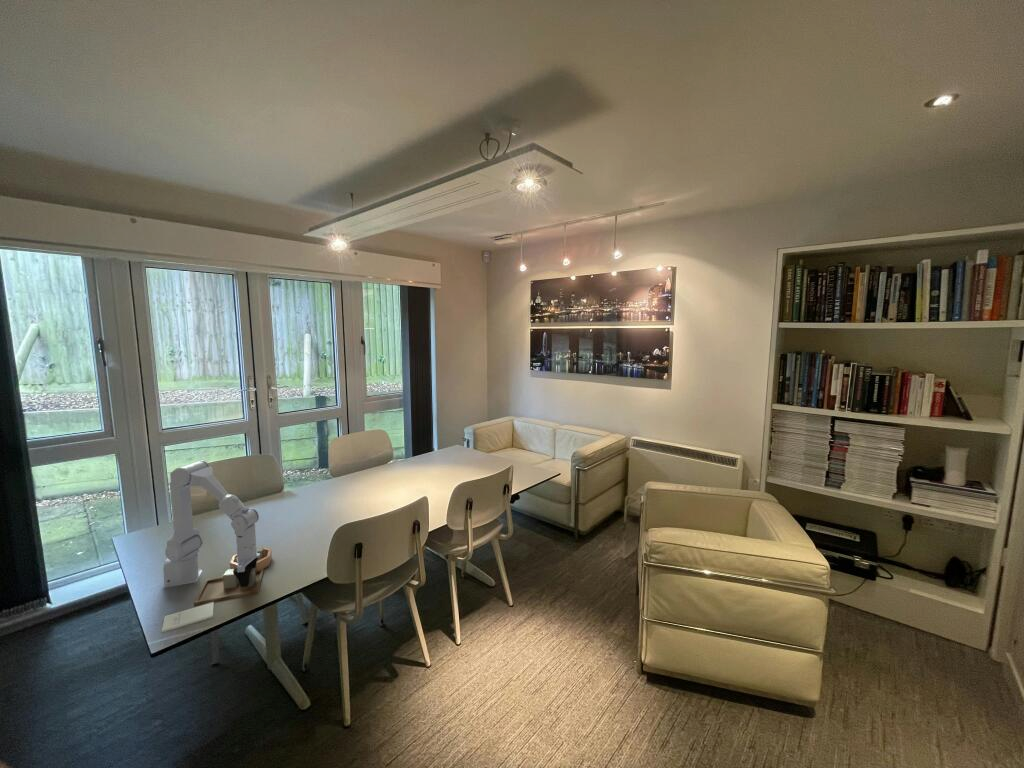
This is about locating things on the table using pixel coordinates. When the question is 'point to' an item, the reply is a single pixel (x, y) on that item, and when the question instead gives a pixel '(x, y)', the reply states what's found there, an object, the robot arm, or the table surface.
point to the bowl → (260, 564)
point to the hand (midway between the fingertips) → (247, 579)
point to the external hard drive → (188, 617)
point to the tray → (225, 590)
